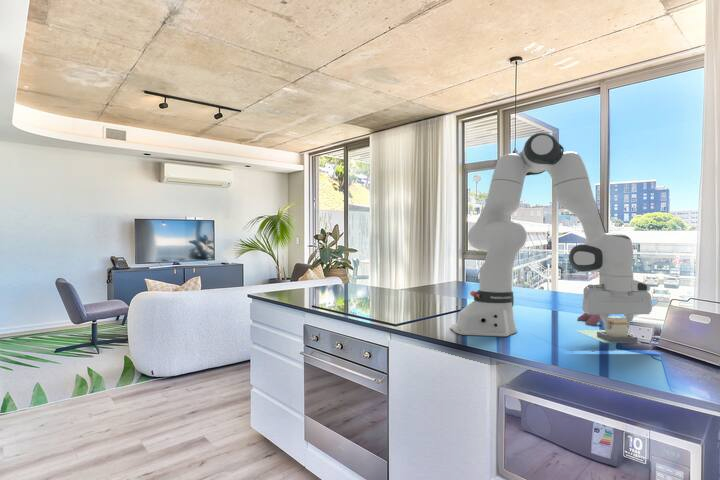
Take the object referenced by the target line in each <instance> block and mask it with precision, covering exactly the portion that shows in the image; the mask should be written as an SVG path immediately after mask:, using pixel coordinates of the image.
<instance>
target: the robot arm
mask: <svg viewBox="0 0 720 480" xmlns="http://www.w3.org/2000/svg"><path fill="white" fill-rule="evenodd" d="M564 149H565V148H564V146H563V145H561V143H559V141H558V140H557V139H556V138H555V136H553V135H552V134H550V133H548V132H544V131H543V132H542V131H541V132H537V133H535V134H532V135H531V136H530V137H529V138H528V139H527V140H526V141H525V143H524V145H523V147H522V150H521V152H519V153H505V154H503V155H501V156H500V158H499V159H498V160H497V162H496V164H495V168H494V170H493V174H492V177H491V181H490V185H489V189H488V194H487V197H486V202H485V204H484V207H483V208H482V211H481V213H480V215H479V217H478V218H477V220H476V222H475V223H474V224H473V225H472V227H470V229H469V230H468V234H467V239H468V240H467V241H468V243H469V244H470V246H471V247H472V248H474V249H476V250H479V251H481V252H487V253H486V255H485V260H484V262H483V264H482V265H481V266H480V268H479V271H478V272H479V273H478V274H479V277H478V278H479V280H478V282H479V283H478V284H479V289H478V290H476V291H475V290H470V293H469V296H470V297H473V301H472V302H470V303H469V304H468V305H466V306H464V308H462V309H460V311H459V313H458V316H457V322H456V323H453V324H451V326H450V328H451V330H452V331H453V332H454V333H455V334H458V335H463V336H483V337H484V336H487V337H490V336H491V337H509V336H510V335H513V334H516V333H517V332H518V331H517V328H516V323H515V318H514V311H513V310H514V309H513V307H514V299H515V298H514V292H513V269H514V264H515V261H516V258H517V256H518V253H519V251H520V250H521V249H522V248H523V247H524V246H525V244H526V242H527V231H526V229H525V227H524V226H523V225H522V223H519V222H517V221H512V220H510V218H511V217H512V215H513V214H515V212H516V211H517V210H518V209H519V206H520V202H521V197H522V193H523V187H524V183H525V179H526V176H537V175H541V174H543V173H544V172H547V173H548V174H549V175H550V178H551V180H552V181H551V182H552V185H553V190H554V195H555V197H556V200H557V202H558V204H559V205H560V207H562V208H563V209H565V210H567V211H569V212H570V213H572V214H573V215H574V216H575V217H577V219H578V220H579V222H580V223H581V226H582V229H583V232H584V235H585V238H586V242H583V243H579V244H577V245H575V246H573V247H572V248H571V249H570V251H569V255H568V262H569V264H570V265H571V267H572V268H573V269H574V270H575V271H577V272H581V273H596V272H597V273H600V276H599V278H600V282H599V284H588V285H586V286H585V287H583V300H582V305H581V308H582V312H584V313H587V314H600V318H601V321H602V323H603V328H604V329H605V328H606V329H611V328H612V327H611V325H612V323H609V322H608V320H607V318H608V316H609V315H624V317H625V319H627V330H629V329H630V324H631V322H632V321H633V319H634V315H650V314H651V312H653V311H652V310H653V304H652V303H653V301H652V295H651V293H650V290H651V286H650V284H648V283H646V282H643V281H639V280H636V279H634V272H633V264H634V246H633V242H632V239H631V238H630V237H629V236H628V235H625V234H621V233H614V232H607V231H606V228H605V225H604V221H603V219H602V215H601V213H600V210H599V208H598V206H597V203H596V200H595V196H594V194H593V190H592V187H591V181H590V179H589V174H588V170H587V168H586V166H585V163H584V161H583V159H582V157H581V155H580V154H579V153H577V152H575V151H565V150H564Z"/></svg>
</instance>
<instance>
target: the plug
mask: <svg viewBox="0 0 720 480" xmlns="http://www.w3.org/2000/svg"><path fill="white" fill-rule="evenodd" d="M625 318H626V317H625ZM625 318H624V317H621V316H619V315H618V316H616V315H613V316H609V315H608V318H607V320H608V322H609V323H612V325H611V327H612V328H611V329H606V328H604V330H605V334H607V335H609V336H612V337H627V334H628V329H627V319H625Z"/></svg>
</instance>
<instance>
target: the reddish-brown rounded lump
mask: <svg viewBox="0 0 720 480" xmlns="http://www.w3.org/2000/svg"><path fill="white" fill-rule="evenodd" d="M576 321H577V322H585V323H584V325H585V326H595V325H597V324H598V323H600V322H601V321H602V319H601V318H600V314H587V313H585V312H584V313H583V314H581V315H580V316H578V318H577V320H576Z"/></svg>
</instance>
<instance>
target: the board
mask: <svg viewBox="0 0 720 480" xmlns="http://www.w3.org/2000/svg"><path fill="white" fill-rule="evenodd" d="M574 331H575V332H578V333H580V334H582V335H585V336H587V337H589V338H592V339H593V340H597V341H598V342H602V343H604V344H641V341H638V336H635V335H632V334H629V333H627V337H612V336H609V335H607V334H605V329H593V330H592V329H591V330H589V329H587V330H586V329H585V330H582V329H581V330H580V329H579V330H577V329H575V330H574Z"/></svg>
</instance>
